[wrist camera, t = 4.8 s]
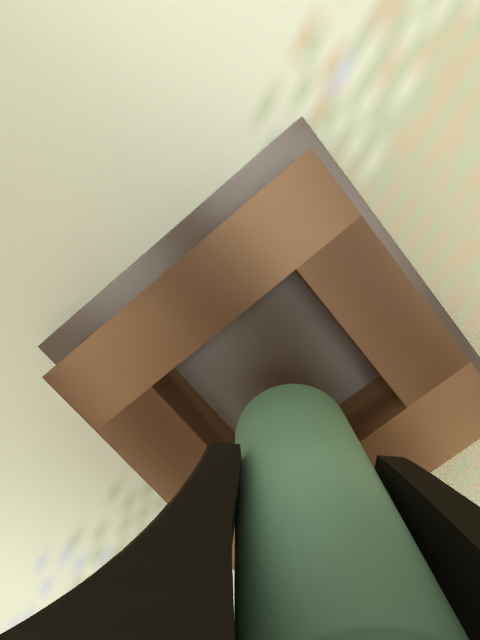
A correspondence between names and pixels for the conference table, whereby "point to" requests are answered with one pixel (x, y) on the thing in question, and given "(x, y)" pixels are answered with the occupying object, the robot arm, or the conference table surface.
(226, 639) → the robot arm
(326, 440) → the peg
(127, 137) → the conference table surface
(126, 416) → the socket
